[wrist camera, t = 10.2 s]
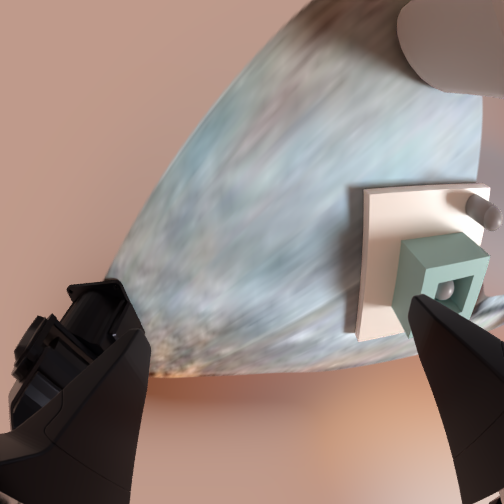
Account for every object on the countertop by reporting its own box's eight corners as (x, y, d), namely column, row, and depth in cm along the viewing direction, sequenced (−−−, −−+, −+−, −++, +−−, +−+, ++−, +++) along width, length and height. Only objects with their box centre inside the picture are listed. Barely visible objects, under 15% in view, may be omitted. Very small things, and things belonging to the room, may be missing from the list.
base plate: (354, 331, 25) (368, 370, 21) (362, 188, 19) (391, 214, 14) (452, 308, 25) (474, 339, 20) (479, 182, 18) (517, 203, 13)
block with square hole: (391, 306, 22) (408, 338, 19) (401, 240, 19) (426, 269, 16) (448, 293, 22) (468, 321, 18) (462, 231, 19) (490, 255, 15)
